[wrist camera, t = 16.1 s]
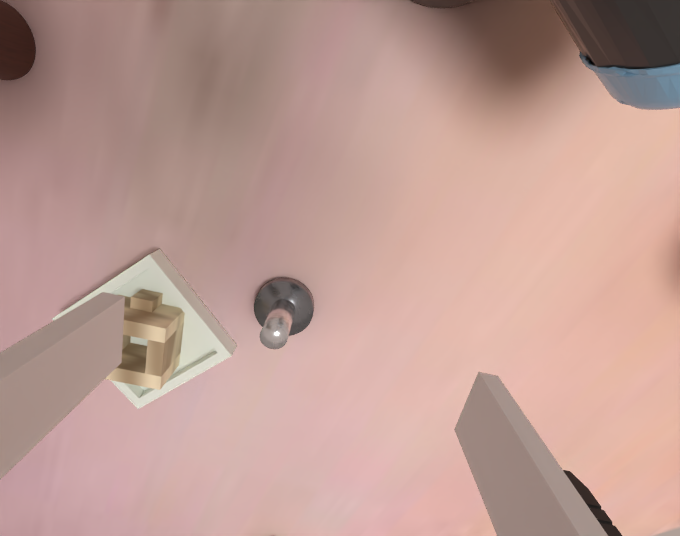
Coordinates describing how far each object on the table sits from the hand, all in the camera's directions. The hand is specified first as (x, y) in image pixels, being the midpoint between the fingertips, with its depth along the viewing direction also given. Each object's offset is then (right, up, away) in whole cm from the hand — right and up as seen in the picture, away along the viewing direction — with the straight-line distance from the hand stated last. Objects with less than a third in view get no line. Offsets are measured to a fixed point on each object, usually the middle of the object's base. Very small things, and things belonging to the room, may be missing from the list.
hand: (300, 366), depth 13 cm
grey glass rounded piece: (-5, -1, +31) cm, 31 cm away
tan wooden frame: (-22, -4, +31) cm, 38 cm away
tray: (-22, -4, +32) cm, 39 cm away
